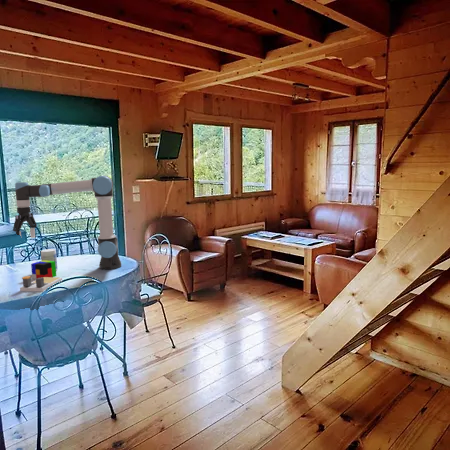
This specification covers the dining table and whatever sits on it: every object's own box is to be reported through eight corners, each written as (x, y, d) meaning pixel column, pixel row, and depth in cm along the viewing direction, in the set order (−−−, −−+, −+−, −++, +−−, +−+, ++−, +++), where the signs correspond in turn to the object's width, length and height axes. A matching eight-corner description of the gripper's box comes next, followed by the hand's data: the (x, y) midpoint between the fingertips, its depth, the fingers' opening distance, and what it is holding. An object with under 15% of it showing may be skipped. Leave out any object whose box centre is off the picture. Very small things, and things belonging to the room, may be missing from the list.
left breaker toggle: (44, 285, 224) (43, 277, 224) (41, 286, 221) (40, 279, 221) (39, 285, 225) (38, 277, 224) (36, 286, 222) (35, 279, 221)
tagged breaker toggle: (31, 284, 225) (30, 276, 225) (28, 286, 222) (27, 277, 221) (26, 284, 226) (25, 276, 225) (23, 286, 223) (22, 277, 222)
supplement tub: (58, 271, 264) (57, 250, 262) (43, 273, 259) (41, 252, 256) (56, 268, 272) (54, 248, 270) (41, 270, 267) (39, 250, 264)
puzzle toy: (32, 278, 247) (31, 263, 246) (44, 274, 256) (43, 260, 255) (44, 280, 244) (43, 265, 242) (56, 276, 253) (55, 261, 251)
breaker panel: (62, 280, 241) (61, 277, 241) (43, 291, 221) (42, 287, 220) (41, 280, 243) (40, 277, 242) (20, 291, 222) (19, 287, 222)
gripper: (30, 204, 256) (33, 236, 259) (4, 208, 232) (7, 243, 235) (41, 204, 255) (43, 236, 258) (15, 208, 231) (18, 243, 234)
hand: (26, 239), depth 247 cm, fingers open, 13 cm apart
